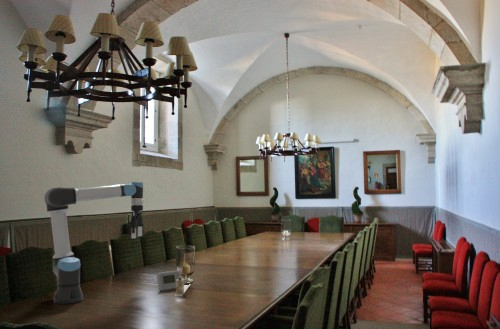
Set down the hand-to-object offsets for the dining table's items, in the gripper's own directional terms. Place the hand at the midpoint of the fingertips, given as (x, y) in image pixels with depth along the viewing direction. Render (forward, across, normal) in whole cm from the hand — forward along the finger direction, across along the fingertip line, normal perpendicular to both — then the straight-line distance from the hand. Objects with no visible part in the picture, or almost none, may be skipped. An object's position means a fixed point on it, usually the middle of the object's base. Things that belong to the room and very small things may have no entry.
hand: (136, 237), depth 269 cm
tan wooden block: (+31, -23, -33) cm, 51 cm away
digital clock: (+32, -8, -24) cm, 41 cm away
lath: (+32, -10, -33) cm, 47 cm away
